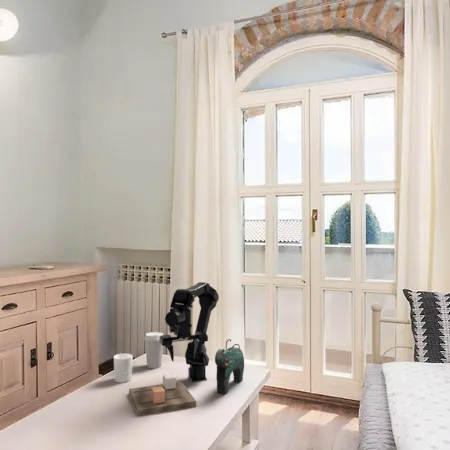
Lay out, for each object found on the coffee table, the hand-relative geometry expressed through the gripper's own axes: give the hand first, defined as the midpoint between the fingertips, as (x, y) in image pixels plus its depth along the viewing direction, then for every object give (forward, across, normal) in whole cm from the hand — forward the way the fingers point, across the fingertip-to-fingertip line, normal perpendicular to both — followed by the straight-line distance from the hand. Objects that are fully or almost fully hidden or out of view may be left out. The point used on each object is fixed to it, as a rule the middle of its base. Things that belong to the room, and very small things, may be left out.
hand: (183, 359), depth 167 cm
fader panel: (+12, +11, +7) cm, 17 cm away
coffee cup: (+12, +6, -31) cm, 34 cm away
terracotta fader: (+10, +13, +12) cm, 20 cm away
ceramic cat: (+12, -18, +4) cm, 22 cm away
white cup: (+12, +21, -19) cm, 31 cm away
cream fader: (+10, +6, +1) cm, 11 cm away
